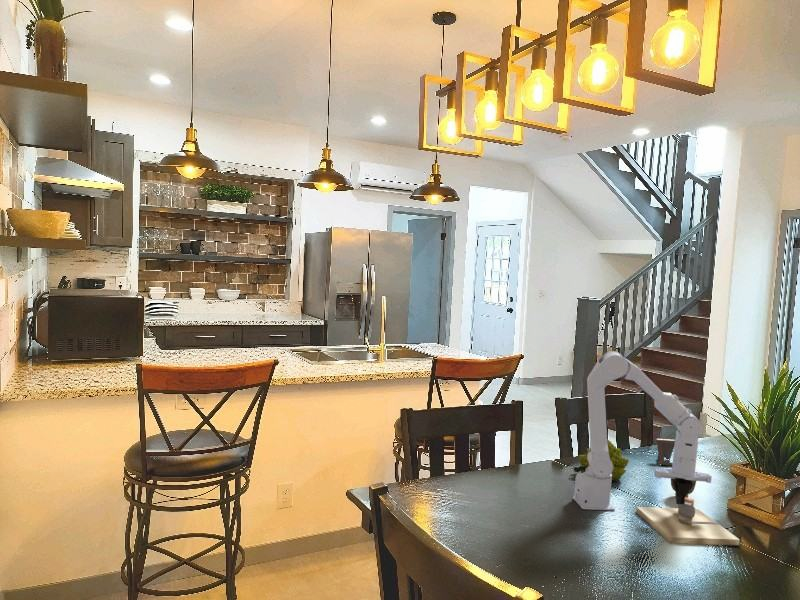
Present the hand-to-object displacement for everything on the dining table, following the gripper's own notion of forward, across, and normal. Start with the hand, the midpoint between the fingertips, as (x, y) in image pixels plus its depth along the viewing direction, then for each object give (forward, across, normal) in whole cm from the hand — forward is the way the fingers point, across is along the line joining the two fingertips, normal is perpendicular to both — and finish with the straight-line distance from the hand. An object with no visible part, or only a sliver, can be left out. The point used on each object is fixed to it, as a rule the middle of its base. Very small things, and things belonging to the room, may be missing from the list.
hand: (679, 504), depth 159 cm
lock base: (+4, -1, -7) cm, 8 cm away
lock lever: (+1, 0, -4) cm, 4 cm away
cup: (+4, +7, +16) cm, 18 cm away
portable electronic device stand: (+4, +16, +49) cm, 52 cm away
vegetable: (+4, -13, +28) cm, 31 cm away
